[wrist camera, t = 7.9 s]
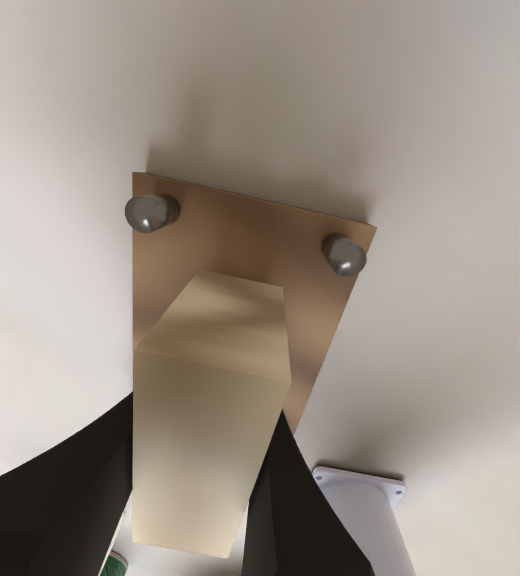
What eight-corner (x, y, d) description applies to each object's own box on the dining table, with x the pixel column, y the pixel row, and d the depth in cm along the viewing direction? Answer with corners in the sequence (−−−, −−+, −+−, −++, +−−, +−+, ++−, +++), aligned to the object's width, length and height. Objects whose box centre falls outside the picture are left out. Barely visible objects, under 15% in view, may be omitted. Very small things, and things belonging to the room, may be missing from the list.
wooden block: (282, 287, 12) (291, 382, 6) (243, 426, 16) (227, 558, 10) (200, 269, 12) (133, 350, 6) (181, 414, 16) (131, 542, 10)
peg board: (286, 436, 20) (288, 486, 16) (141, 409, 19) (114, 455, 16) (367, 223, 13) (400, 238, 10) (145, 172, 12) (99, 170, 9)
